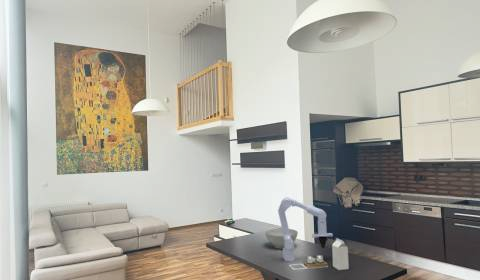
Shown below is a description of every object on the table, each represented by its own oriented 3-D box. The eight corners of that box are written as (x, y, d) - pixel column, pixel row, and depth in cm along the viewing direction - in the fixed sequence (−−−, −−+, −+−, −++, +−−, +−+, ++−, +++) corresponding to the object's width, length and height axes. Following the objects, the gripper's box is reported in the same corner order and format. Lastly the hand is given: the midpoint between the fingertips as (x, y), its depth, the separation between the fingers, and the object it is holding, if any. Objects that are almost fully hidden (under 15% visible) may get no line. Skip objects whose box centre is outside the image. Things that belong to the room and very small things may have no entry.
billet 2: (315, 264, 205) (315, 254, 206) (321, 264, 206) (321, 254, 206) (318, 266, 201) (318, 256, 202) (324, 266, 202) (323, 256, 202)
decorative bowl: (258, 247, 253) (258, 232, 254) (277, 240, 273) (277, 227, 274) (286, 253, 235) (285, 237, 236) (304, 245, 255) (303, 230, 256)
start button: (311, 262, 211) (310, 258, 212) (314, 262, 212) (314, 258, 212) (312, 263, 209) (312, 259, 209) (316, 263, 209) (315, 259, 210)
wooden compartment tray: (303, 266, 205) (302, 261, 205) (323, 264, 208) (322, 259, 208) (307, 270, 198) (307, 265, 198) (328, 268, 200) (328, 263, 201)
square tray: (288, 267, 205) (288, 264, 205) (301, 265, 207) (301, 263, 207) (293, 271, 196) (293, 269, 196) (307, 270, 198) (306, 268, 198)
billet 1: (306, 265, 204) (306, 255, 204) (312, 265, 204) (311, 255, 205) (308, 267, 200) (308, 257, 200) (314, 267, 200) (314, 257, 201)
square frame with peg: (307, 262, 213) (307, 258, 213) (315, 261, 214) (315, 257, 214) (311, 265, 207) (311, 261, 207) (320, 264, 208) (319, 260, 208)
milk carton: (338, 271, 194) (337, 241, 195) (333, 268, 201) (331, 238, 202) (348, 270, 196) (347, 240, 197) (342, 267, 203) (341, 237, 204)
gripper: (314, 229, 209) (315, 250, 208) (334, 228, 212) (335, 248, 211) (310, 227, 216) (311, 247, 215) (329, 226, 219) (330, 245, 218)
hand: (323, 247), depth 214 cm, fingers closed
